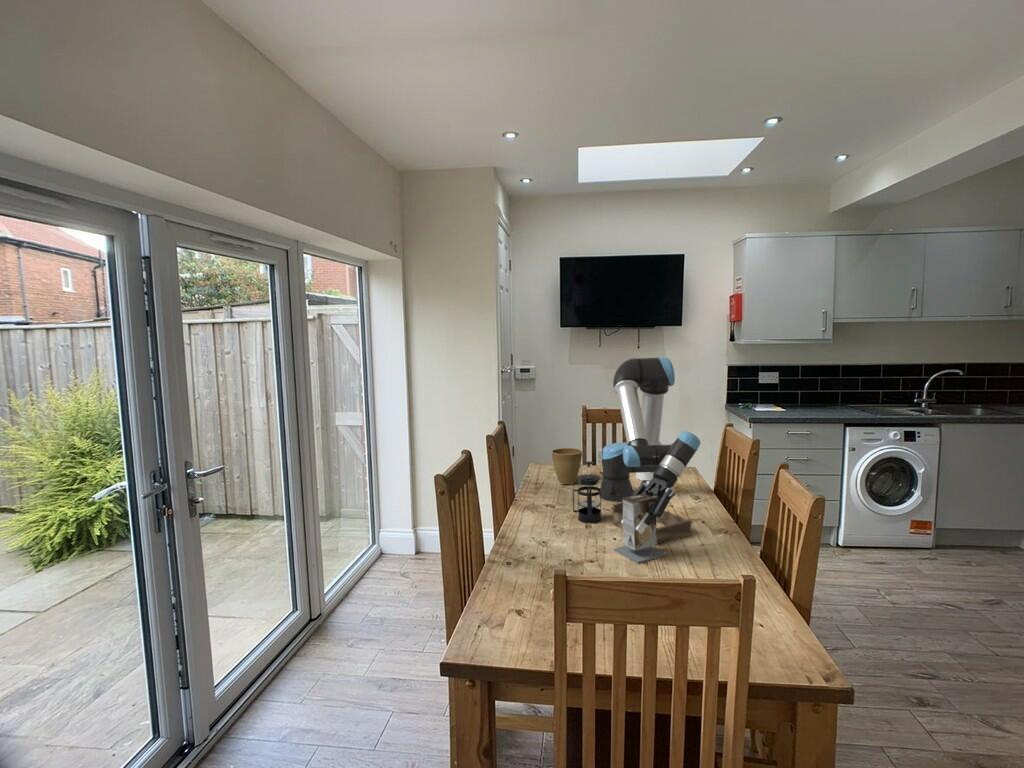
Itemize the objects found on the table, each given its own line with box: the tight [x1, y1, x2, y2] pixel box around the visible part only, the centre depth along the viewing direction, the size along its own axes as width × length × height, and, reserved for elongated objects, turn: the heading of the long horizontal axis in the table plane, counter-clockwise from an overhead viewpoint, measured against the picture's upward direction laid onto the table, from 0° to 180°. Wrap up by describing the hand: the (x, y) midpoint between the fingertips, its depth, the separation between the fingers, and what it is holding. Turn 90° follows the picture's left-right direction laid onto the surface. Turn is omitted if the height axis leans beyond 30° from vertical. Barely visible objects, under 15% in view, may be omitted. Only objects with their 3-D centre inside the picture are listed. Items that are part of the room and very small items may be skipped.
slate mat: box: [613, 545, 667, 565], centre depth 176 cm, size 12×12×1 cm
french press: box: [572, 460, 603, 524], centre depth 208 cm, size 12×9×23 cm
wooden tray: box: [612, 501, 692, 545], centre depth 196 cm, size 22×17×8 cm
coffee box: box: [621, 494, 658, 550], centre depth 175 cm, size 9×6×16 cm
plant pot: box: [551, 447, 583, 485], centre depth 258 cm, size 15×15×16 cm
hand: (631, 528), depth 173 cm, fingers closed on coffee box, 7 cm apart
